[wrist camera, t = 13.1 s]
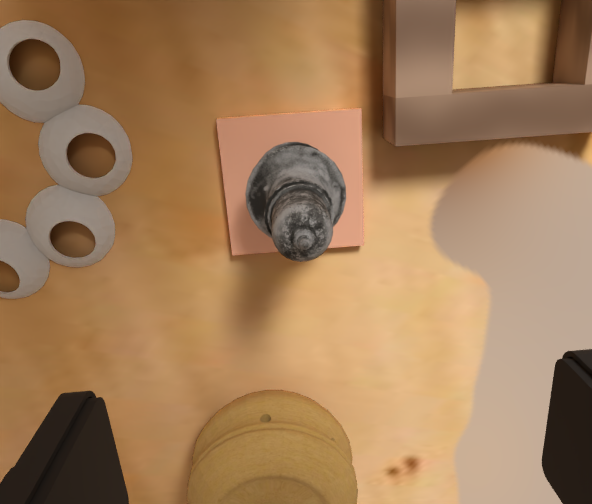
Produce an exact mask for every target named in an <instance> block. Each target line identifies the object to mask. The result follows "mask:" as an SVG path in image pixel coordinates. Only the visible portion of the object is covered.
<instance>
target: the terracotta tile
mask: <svg viewBox="0 0 592 504" xmlns="http://www.w3.org/2000/svg"><path fill="white" fill-rule="evenodd" d="M216 123H217V131H218V140H219V148H220V157H221V165H222V173H223V182H224V190H225V199H226V207H227V216H228V224H229V233H230V241H231V249H232V255H244V254H257V253H270V252H279V251H278V249H277V248H276V247H275V245H274V242H273V240H272V238H270V237H268V236H267V235H266V234H265V233H263V232H262V231H261V230H260V229H259V228H258V227H257V226H256V224H255V223H254V222H253V220H252V219H251V217H250V214H249V211H248V209H247V205H246V196H245V193H246V187H247V181H248V179H249V176H250V174H251V172H252V170H253V168H254V167H255V166H256V165H257V163H258V162H259V160H260V159H261V158H262V157H263V155H264V154H265V153H266V152H267V151H269V150H270V149H272V148H273V147H275V146H277V145H280V144H283V143H286V142H300V143H306V144H308V145H311V146H313V147H315V148H317V149H318V150H319V151H320V152H322V153H324V154H326V155H327V156H328V157H329V158H330V159H331V160H332V161H334V162H335V164H336V165H337V167H338V168H339V170H340V172H341V173H342V176H343V179H344V182H345V185H346V202H345V206H344V211H343V213H342V215H341V217H340V219H339V220H338V222H337V224H336V225H335V226H334V227H333V236H332V240H331V242H330V244H329V246H328V248H335V247H348V246H361V245H364V217H363V162H362V109H361V108H350V109H336V110H322V111H308V112H294V113H280V114H266V115H252V116H238V117H224V118H217V119H216Z"/></svg>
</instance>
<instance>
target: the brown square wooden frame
mask: <svg viewBox="0 0 592 504" xmlns="http://www.w3.org/2000/svg"><path fill="white" fill-rule="evenodd" d="M455 15H456V0H383V138H384V139H385V140H387V141H388V142H390V143H391V144H393V145H394V146H408V145H422V144H435V143H449V142H463V141H476V140H490V139H504V138H517V137H531V136H545V135H559V134H572V133H586V132H592V0H562V1H561V10H560V19H559V28H558V37H557V46H556V55H555V64H554V73H553V82H552V83H539V84H525V85H511V86H497V87H483V88H469V89H454V90H452V84H453V61H454V38H455Z"/></svg>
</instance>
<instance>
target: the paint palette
mask: <svg viewBox="0 0 592 504" xmlns="http://www.w3.org/2000/svg"><path fill="white" fill-rule="evenodd" d="M28 39H38V40H41V41H43V42H45V43H47V44H49V45H50V46H51V47H52V48H53V49H54V50H55V51H56V53H57V54H58V57H59V59H60V75H59V78H58V80H57V81H56V82H55V83H54V84H53V85H52V86H51V87H49V88H48V89H44V90H31V89H28V88H26V87H24V86H22V85H21V84H20V83H18V82H17V81H16V79H15V78H14V77H13V75H12V73H11V71H10V66H9V58H10V54H11V52H12V50H13V48H14V47H15V46H16V45H17V44H19V43H20V42H21V41H25V40H28ZM84 86H85V76H84V68H83V65H82V62H81V59H80V56H79V55H78V53H77V51H76V50H75V48H74V46H73V45H72V44H71V42H70V41H69V40H68V39H67V38H65V37H64V36H63V35H62V34H61V33H60V32H58V31H57V30H56V29H54V28H52V27H51V26H49V25H47V24H44V23H41V22H38V21H31V20H19V21H15V22H10V23H8V24H7V25H5V26H3V27H1V28H0V102H1V103H2V104H3V105H4V106H5V107H6V108H7V109H8V110H9V111H10V112H12V113H14V114H15V115H17V116H19V117H20V118H23V119H26V120H29V121H32V122H39V123H44V125H43V127H42V129H41V131H40V136H39V141H38V146H39V155H40V158H41V160H42V163H43V166H44V168H45V169H46V171H47V172H48V174H49V175H50V177H51V178H52V179H53V180H54V181H55V182H57V183H58V184H59V185H54V186H49V187H47V188H45V189H44V190H42V191H40V192H39V193H38V194H37V195H36V196H35V197H34V198H33V199H32V200H31V202H30V204H29V206H28V208H27V212H26V218H25V220H26V227H24V226H22V225H20V224H18V223H16V222H12V221H9V220H3V219H0V261H3V262H5V263H7V264H9V265H10V266H11V267H13V268H14V269H15V271H16V272H17V274H18V276H19V279H20V284H19V287H18V288H17V289H16V290H15V291H11V292H1V291H0V297H2V298H8V299H17V298H23V297H28V296H30V295H32V294H34V293H36V292H37V291H38V290H39V289H40V288H41V287H42V286H44V284H45V282H46V280H47V278H48V276H49V270H50V262H49V259H50V260H52V261H54V262H55V263H57V264H60V265H64V266H68V267H84V266H89V265H92V264H94V263H96V262H98V261H100V260H102V259H103V257H104V256H105V255H106V254H107V253H108V252H109V250H110V249H111V247H112V245H113V243H114V238H115V223H114V220H113V217H112V214H111V212H110V211H109V209H108V208H107V206H106V205H105V203H104V202H103V201H102V200H101V199H100V198H99V197H97V196H102V195H106V194H109V193H111V192H112V191H114V190H116V189H117V188H118V187H119V186H120V185H122V184H123V183H124V182H125V180H126V178H127V176H128V174H129V173H130V169H131V165H132V150H131V145H130V141H129V138H128V136H127V134H126V133H125V131H124V129H123V128H122V126H121V125H120V124H119V123H118V122H117V121H116V120H115V119H114V118H113V117H112V116H111V115H109V114H108V113H106V112H104V111H103V110H101V109H98V108H95V107H93V106H89V105H78V104H79V102H80V100H81V98H82V96H83V92H84ZM83 133H93V134H97V135H100V136H102V137H104V138H105V139H107V140H108V141H109V142H110V143H111V145H112V146H113V148H114V150H115V156H116V162H115V164H114V167H113V169H112V170H111V171H110V172H109V173H108V174H106V175H104V176H102V177H98V178H90V177H85V176H83V175H81V174H79V173H78V172H76V171H75V170H74V169H73V168H72V167H71V165H70V163H69V161H68V158H67V148H68V146H69V143H70V142H71V140H72V139H73V138H75V137H76V136H78V135H80V134H83ZM63 221H74V222H78V223H81V224H83V225H85V226H86V227H87V228H88V229H90V230H91V232H92V233H93V235H94V236H95V242H96V245H95V248H94V251H93V252H92V253H91V254H89V255H87V256H84V257H78V258H73V257H68V256H65V255H63V254H61V253H59V252H58V251H57V250H56V249H55V248H54V247H53V245H52V243H51V240H50V233H51V230H52V228H53V227H54V226H55V225H56V224H58V223H60V222H63Z"/></svg>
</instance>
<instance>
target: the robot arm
mask: <svg viewBox="0 0 592 504" xmlns="http://www.w3.org/2000/svg"><path fill="white" fill-rule="evenodd" d="M542 467H543V471H544V474H545V477H546V478H547V480H548V482H549V483H550V485H551V486H552V488H553V489H554V491H555V492H556V494H557V495H558V497H559V498H560V500H561V502H562V503H563V504H592V349H589V350H577V351H568V352H566V353H565V354H564V355H563V358H562V359H559V360H557V362H556V364H555V370H554V377H553V384H552V391H551V399H550V406H549V413H548V420H547V427H546V434H545V441H544V448H543V455H542ZM0 504H129V501H128V494H127V490H126V486H125V482H124V478H123V474H122V470H121V466H120V461H119V457H118V453H117V449H116V445H115V441H114V437H113V433H112V429H111V425H110V421H109V417H108V413H107V409H106V405H105V402H104V400H103V398H101V397H98V398H96V396H95V394H94V393H93V392H92V391H83V392H71V393H63V394H61V395H60V396H59V397H58V399H57V400H56V402H55V403H54V405H53V407H52V408H51V410H50V411H49V413H48V414H47V416H46V418H45V419H44V421H43V422H42V424H41V425H40V427H39V429H38V430H37V432H36V433H35V435H34V436H33V438H32V440H31V441H30V443H29V444H28V446H27V447H26V449H25V451H24V452H23V454H22V455H21V457H20V458H19V460H18V462H17V463H16V465H15V466H14V467H13V468H11V469H10V471H9V472H8V473H7V474H6V475H5V477H4V479H3V480H2V482H1V483H0Z"/></svg>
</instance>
